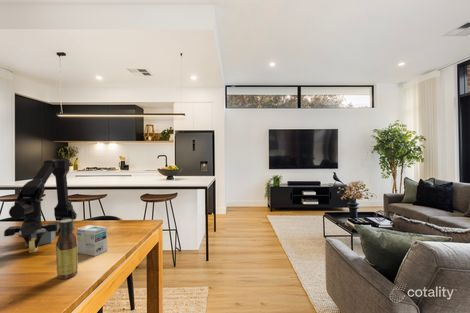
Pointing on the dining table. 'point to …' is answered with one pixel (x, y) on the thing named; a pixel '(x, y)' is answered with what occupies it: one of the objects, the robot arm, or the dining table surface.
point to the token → (32, 245)
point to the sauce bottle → (66, 250)
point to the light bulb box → (91, 240)
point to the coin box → (44, 237)
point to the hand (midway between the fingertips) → (33, 248)
